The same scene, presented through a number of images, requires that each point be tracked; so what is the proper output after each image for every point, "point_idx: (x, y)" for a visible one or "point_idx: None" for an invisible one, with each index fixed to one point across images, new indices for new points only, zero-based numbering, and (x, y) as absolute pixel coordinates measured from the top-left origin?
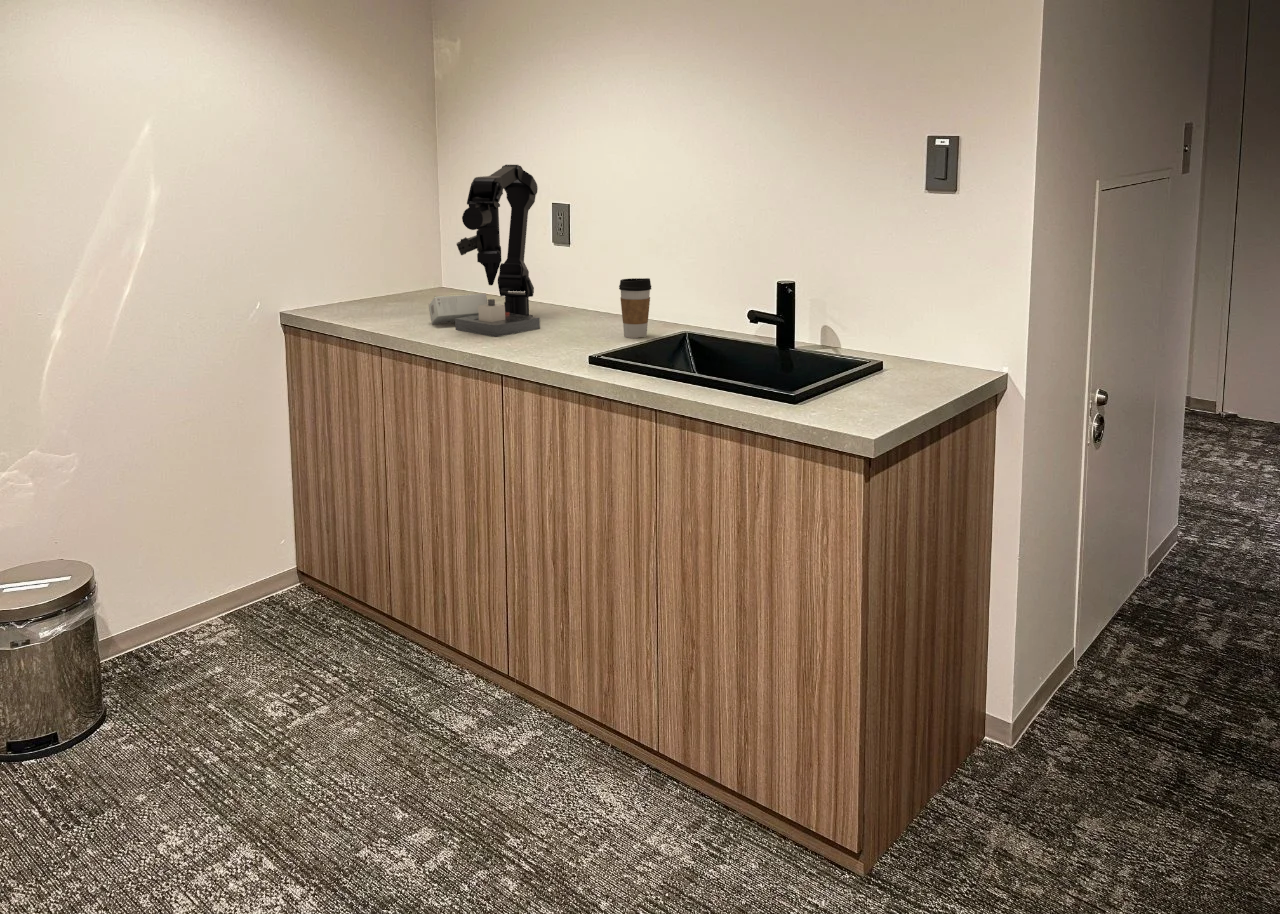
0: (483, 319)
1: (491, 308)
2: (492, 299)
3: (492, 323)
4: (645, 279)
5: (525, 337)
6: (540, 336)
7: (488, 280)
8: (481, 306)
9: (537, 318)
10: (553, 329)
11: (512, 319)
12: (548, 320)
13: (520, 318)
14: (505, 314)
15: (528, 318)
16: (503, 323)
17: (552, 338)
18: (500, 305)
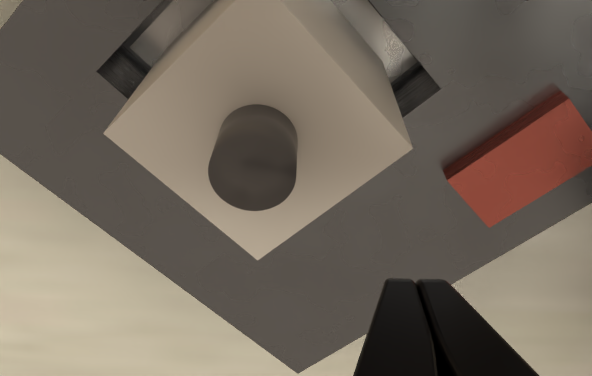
0: (219, 2)
1: (116, 134)
2: (272, 188)
3: (30, 87)
4: None
5: (9, 246)
6: (53, 312)
7: (366, 345)
8: (214, 21)
9: (283, 361)
10: (269, 369)
11: None
12: (566, 363)
13: (276, 280)
14: (460, 192)
15: (269, 322)
16: (44, 171)
17: (4, 355)
18: (239, 225)
